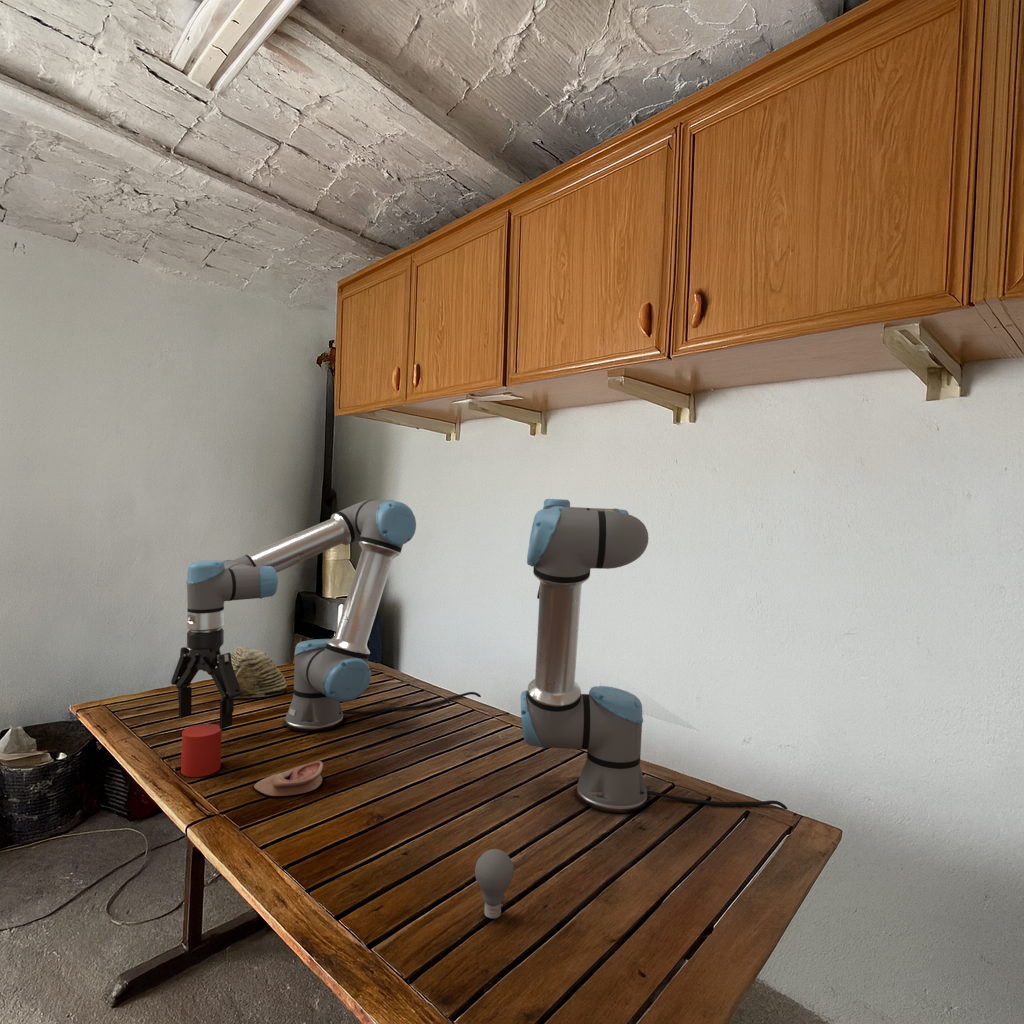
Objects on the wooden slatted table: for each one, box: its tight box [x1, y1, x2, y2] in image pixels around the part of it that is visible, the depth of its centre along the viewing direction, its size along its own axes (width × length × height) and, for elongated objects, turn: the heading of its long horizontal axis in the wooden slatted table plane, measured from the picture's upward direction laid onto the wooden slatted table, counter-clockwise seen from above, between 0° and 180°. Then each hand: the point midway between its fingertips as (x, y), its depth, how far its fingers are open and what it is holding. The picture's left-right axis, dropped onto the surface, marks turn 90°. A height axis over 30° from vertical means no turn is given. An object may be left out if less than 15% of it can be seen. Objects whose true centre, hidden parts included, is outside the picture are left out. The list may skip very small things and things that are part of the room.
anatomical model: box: [253, 760, 324, 797], centre depth 138 cm, size 13×4×12 cm
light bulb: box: [474, 848, 515, 919], centre depth 98 cm, size 6×6×10 cm
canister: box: [180, 723, 223, 778], centre depth 144 cm, size 8×8×9 cm
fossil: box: [231, 646, 288, 699], centre depth 198 cm, size 9×18×15 cm, turn 132°
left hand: (205, 721), depth 144 cm, fingers open, 13 cm apart
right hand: (551, 630), depth 177 cm, fingers open, 13 cm apart
